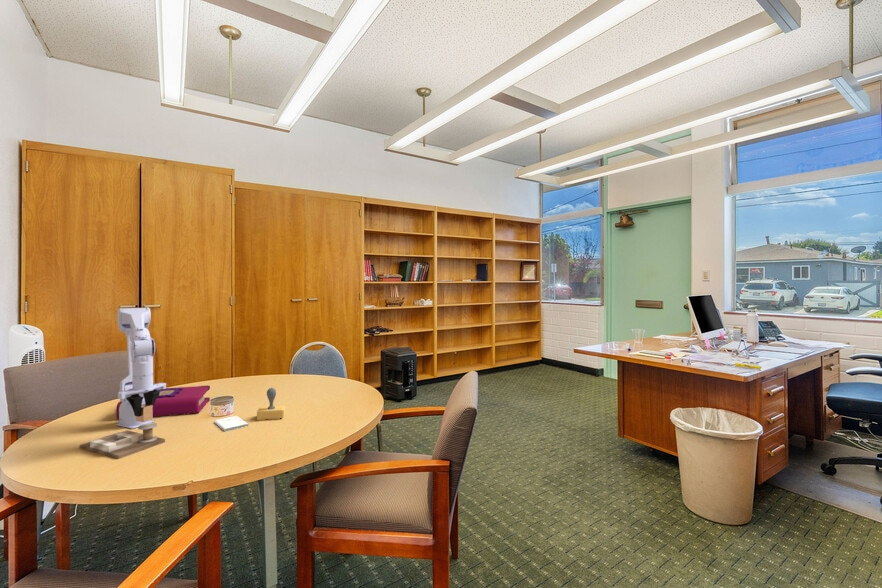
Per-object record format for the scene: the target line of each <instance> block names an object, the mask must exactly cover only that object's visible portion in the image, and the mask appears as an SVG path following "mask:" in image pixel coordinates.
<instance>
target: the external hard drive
mask: <svg viewBox="0 0 882 588" xmlns="http://www.w3.org/2000/svg"><path fill="white" fill-rule="evenodd" d="M214 424H215V425H217V426H218V427H219V428H220V429H221V430H222V431H223V432H228V431H233V430H237V428H238V429H241V427H243V428H246V427H245V426H247V427H249V423H247V422H246V421H245V420H243V419H242V418H241V417H239V416H238V415H234V416H230V417H229V416H228V417H225V418H219V419H216V420H214Z"/></svg>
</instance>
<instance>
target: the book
mask: <svg viewBox="0 0 882 588" xmlns="http://www.w3.org/2000/svg"><path fill="white" fill-rule="evenodd" d="M210 389H211V386H210V385H208V384H207V385H198V386H195V385H194V386H184V387H183V386H181V387H180V386H179V387H178V386H177V387H166V389H159V390H157V391H159V392H160V394H159V396H158V397H157V399H156V401H155V403H154V406H153V418H154V417H155V418H156V417H166V416H167V417H169V416H180V415H181V416H182V415H193V414H194V415H195V413H196V414H199V413H201V412H202V410H203V409H204V408H205V406H206V405H207V404H208V403H209V402H210V400H211V397H210V396H209V397H208V396H207V397H205V396H204V395H205V394H206V393H207V392H208V391H210ZM121 403H122V401H120V400H119V401H118V403H116V407H115V408H116V411H115V412H116V414H115V416H116V420H118V421H119V407H120V405H121ZM206 403H207V404H206Z"/></svg>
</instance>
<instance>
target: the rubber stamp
mask: <svg viewBox="0 0 882 588" xmlns="http://www.w3.org/2000/svg"><path fill="white" fill-rule="evenodd" d="M276 394H277V391H276V389H275V388H274V387H270V388H268V389H267V390H266V397H267V399H268V403H269V406H260V407H259V408H258V409H257V410H256V421H266V420H265V419H272V420H281V419H280V418H284V419H285V417H286V415H285V414H286V413H287V412H286V405H278V406H277V405H274V401H275V398H276V396H277V395H276ZM284 416H285V417H284Z"/></svg>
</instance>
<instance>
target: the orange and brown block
mask: <svg viewBox="0 0 882 588" xmlns="http://www.w3.org/2000/svg"><path fill="white" fill-rule="evenodd" d="M153 419H154V417H153V405H149V404H142V405H141V416H139V417H138V416H136V421H140V422H146V421H149V420H153Z"/></svg>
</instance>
